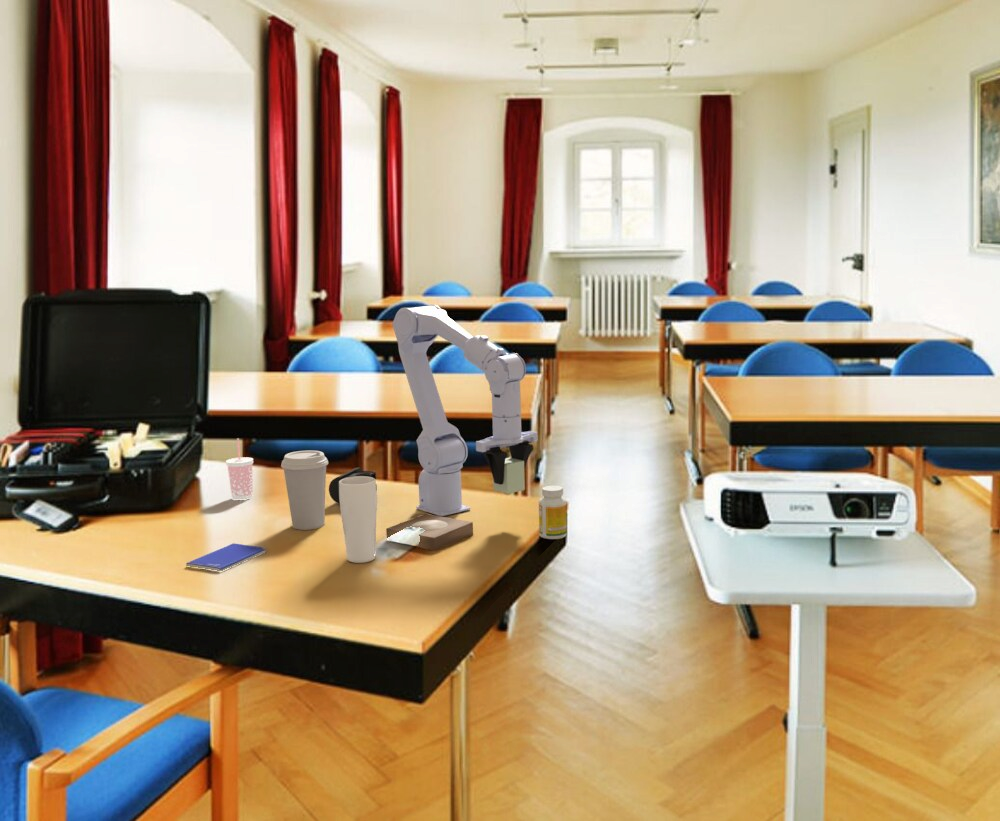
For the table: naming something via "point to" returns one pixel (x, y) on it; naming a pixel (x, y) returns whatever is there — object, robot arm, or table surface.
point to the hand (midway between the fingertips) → (508, 481)
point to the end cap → (355, 472)
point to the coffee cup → (306, 488)
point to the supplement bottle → (552, 513)
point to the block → (512, 477)
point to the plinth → (436, 530)
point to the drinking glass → (359, 517)
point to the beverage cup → (240, 476)
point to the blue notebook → (226, 557)
